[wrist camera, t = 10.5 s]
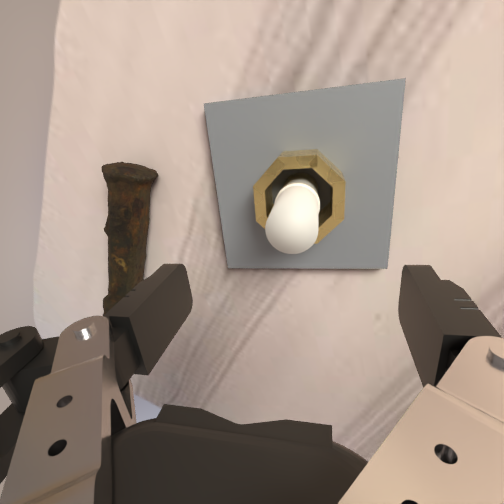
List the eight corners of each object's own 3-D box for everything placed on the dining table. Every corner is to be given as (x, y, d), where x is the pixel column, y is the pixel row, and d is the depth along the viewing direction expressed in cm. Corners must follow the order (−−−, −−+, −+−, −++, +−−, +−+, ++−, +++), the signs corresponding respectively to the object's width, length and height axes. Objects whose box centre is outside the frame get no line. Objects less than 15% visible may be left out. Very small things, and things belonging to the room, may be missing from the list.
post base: (401, 80, 20) (466, 54, 11) (384, 262, 26) (419, 342, 17) (208, 104, 24) (140, 98, 14) (231, 262, 29) (192, 329, 20)
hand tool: (123, 155, 27) (88, 163, 23) (164, 168, 27) (135, 179, 23) (113, 313, 36) (86, 339, 32) (144, 324, 36) (121, 352, 31)
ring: (342, 147, 22) (346, 152, 19) (340, 226, 24) (343, 243, 21) (259, 153, 23) (250, 159, 20) (265, 228, 26) (258, 244, 23)
